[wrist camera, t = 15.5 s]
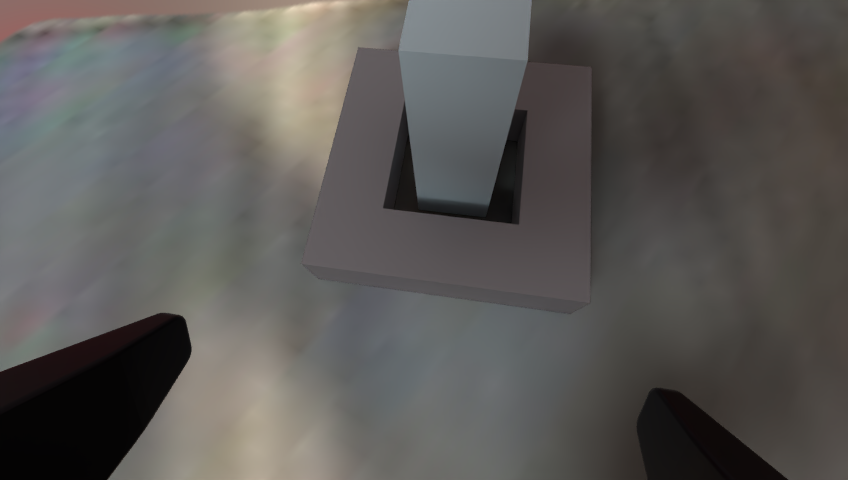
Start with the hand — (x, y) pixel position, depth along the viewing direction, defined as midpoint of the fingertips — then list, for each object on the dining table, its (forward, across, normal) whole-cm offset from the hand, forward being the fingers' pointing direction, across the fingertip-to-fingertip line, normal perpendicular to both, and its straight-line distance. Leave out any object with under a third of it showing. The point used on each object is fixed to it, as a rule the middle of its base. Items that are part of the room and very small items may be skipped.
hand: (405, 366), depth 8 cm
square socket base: (+18, 0, +2) cm, 18 cm away
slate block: (+18, 0, +2) cm, 18 cm away
